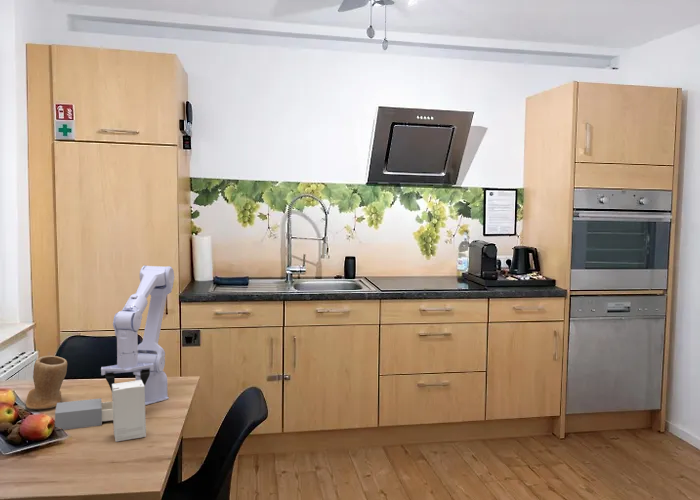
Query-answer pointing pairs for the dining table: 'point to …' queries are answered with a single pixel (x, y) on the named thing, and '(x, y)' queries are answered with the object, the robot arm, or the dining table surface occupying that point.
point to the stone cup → (47, 382)
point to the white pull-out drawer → (107, 411)
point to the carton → (78, 414)
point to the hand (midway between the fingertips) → (127, 395)
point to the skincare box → (129, 410)
